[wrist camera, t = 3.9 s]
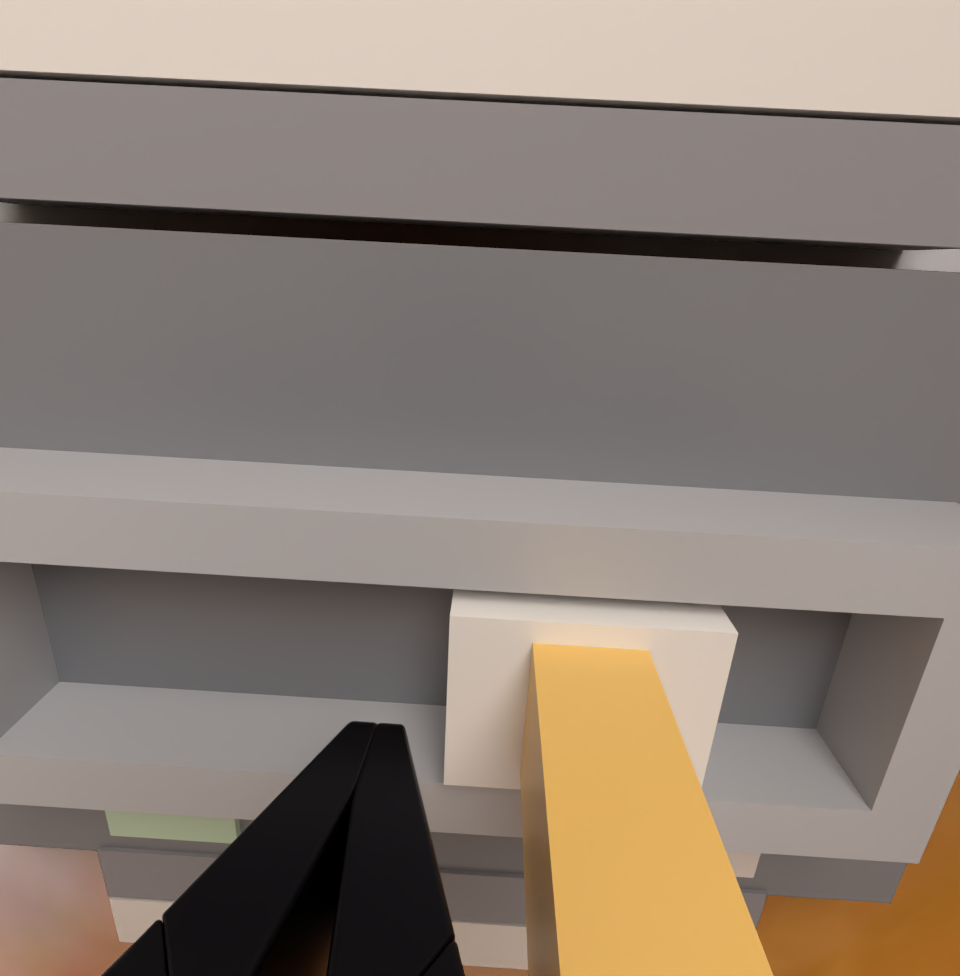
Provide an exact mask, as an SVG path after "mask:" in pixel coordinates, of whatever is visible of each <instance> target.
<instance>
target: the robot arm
mask: <svg viewBox="0 0 960 976" xmlns="http://www.w3.org/2000/svg"><path fill="white" fill-rule="evenodd" d="M101 976H465V974H464V970H463V966H462V962H461V957H460V953H459V949H458V945H457V943H456V942H455V934H454V929H453V925H452V921H451V917H450V913H449V908H448V904H447V900H446V896H445V892H444V888H443V883H442V879H441V875H440V871H439V867H438V862H437V858H436V854H435V850H434V846H433V842H432V837H431V833H430V829H429V825H428V821H427V816H426V812H425V808H424V804H423V800H422V796H421V791H420V787H419V783H418V779H417V775H416V770H415V766H414V762H413V758H412V754H411V750H410V745H409V741H408V737H407V733H406V729H405V727H404V726H403V725H402V724H391V723H379V724H376V723H374V722H362V721H352V722H350V723H348V724H347V725H346V726H345V727H344V728H343V729H342V730H341V731H340V732H339V733H338V734H337V735H336V736H335V737H334V738H333V739H332V740H331V741H330V742H329V743H328V744H327V746H326V747H325V748H324V749H323V750H322V751H321V752H320V753H319V754H318V755H317V756H316V757H315V758H314V759H313V760H312V761H311V762H310V763H309V764H308V765H307V766H306V767H305V768H304V769H303V770H302V771H301V772H300V773H299V774H298V775H297V776H296V777H295V778H294V779H293V780H292V782H291V783H290V784H289V785H288V786H287V787H286V788H285V789H284V790H283V791H282V792H281V793H280V794H279V795H278V796H277V797H276V798H275V799H274V800H273V801H272V802H271V803H270V804H269V805H268V806H267V807H266V808H265V809H264V810H263V811H262V812H261V813H260V814H259V815H258V816H257V818H256V819H255V820H254V821H253V822H252V823H251V824H250V825H249V826H248V827H247V828H246V829H245V830H244V831H243V832H242V833H241V834H240V835H239V836H238V837H237V838H236V839H235V840H234V841H233V842H232V843H231V844H230V845H229V846H228V847H227V848H226V849H225V850H224V851H223V852H222V853H221V855H220V856H219V857H218V858H217V859H216V860H215V861H214V862H213V863H212V864H211V865H210V866H209V867H208V868H207V869H206V870H205V871H204V872H203V873H202V874H201V875H200V876H199V877H198V878H197V879H196V880H195V881H194V882H193V883H192V884H191V885H190V886H189V887H188V888H187V889H186V891H185V892H184V893H183V894H182V895H181V896H180V897H179V898H178V899H177V900H176V901H175V902H174V903H173V904H172V905H171V906H170V907H169V908H168V909H167V910H166V911H165V912H164V913H163V915H162V921H161V920H156V921H155V922H154V923H153V924H152V925H151V926H150V927H149V928H148V929H147V930H146V931H145V932H144V933H143V934H142V935H141V936H140V937H139V938H138V940H137V941H136V942H135V943H134V944H133V945H132V946H131V947H130V948H129V949H128V950H127V951H126V952H125V953H124V954H123V955H122V956H121V957H120V958H119V959H118V960H117V961H116V962H115V963H114V964H113V965H111V966H110V967H109V968H108V969H107V970H106V971H105V972H104V973H103V974H102V975H101Z"/></svg>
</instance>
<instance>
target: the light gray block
mask: <svg viewBox="0 0 960 976" xmlns="http://www.w3.org/2000/svg"><path fill="white" fill-rule="evenodd" d="M97 852H98V856H99V860H100V864H101V868H102V872H103V877H104V881H105V885H106V889H107V893H108V896H109V897H110V899H109V901H110V905H111V909H112V913H113V917H114V921H115V925H116V929H117V934H118V938H119V942H129V943H135V942H136V941H137V940H138V938H139V937H140V936H141V935H142V934H143V933H144V932H145V931H146V930H147V929H148V928H149V927H150V926H151V925H152V924H153V923H154V922H155V921H156V920H161V921H162V915H163V913H164V912H165V911H166V910H167V909H168V908H169V907H170V906H171V905H172V904H173V903H174V902H175V901H176V900H177V899H178V898H179V897H180V896H181V895H182V894H183V893H184V892H185V891H186V889H187V888H188V887H189V886H190V885H191V884H192V883H193V882H194V881H195V880H196V879H197V878H198V877H199V876H200V875H201V874H202V873H203V872H204V871H205V870H206V869H207V868H208V867H209V866H210V865H211V864H212V863H213V862H214V861H215V860H216V859H217V858H218V857H219V856H220V855H221V854H206V853H191V852H176V851H161V850H146V849H131V848H116V847H101V846H100V847H99V848H98V850H97ZM439 871H440V875H441V879H442V883H443V888H444V892H445V896H446V900H447V904H448V908H449V913H450V917H451V921H452V925H453V929H454V934H455V942H456V943H457V945H458V949H459V953H460V957H461V962H462V965H466V966H481V967H495V968H510V969H525V970H528V960H527V934H526V908H525V882H524V874H509V873H494V872H479V871H464V870H448V869H439ZM740 890H741V892H742V895H743V897H744V900H745V903H746V905H747V908H748V911H749V913H750V916H751V918H752V921H753V924H754V926H755V929H756V928H757V925H758V922H759V919H760V916H761V913H762V909H763V906H764V903H765V900H766V897H767V893H766V891H765V890H751V889H740Z"/></svg>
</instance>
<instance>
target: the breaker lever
mask: <svg viewBox="0 0 960 976" xmlns="http://www.w3.org/2000/svg"><path fill="white" fill-rule="evenodd" d="M737 637H738V632H737V630H736V629H735V627H734V626H733V624H732V623H731V621H730V620H729V618H728V616H727V615H726V613H725V612H724V610H723V609H722V607H721V606H720V605H713V604H696V603H680V602H663V601H646V600H630V599H613V598H596V597H580V596H563V595H546V594H530V593H513V592H497V591H480V590H463V589H454V590H453V597H452V604H451V611H450V623H449V650H448V677H447V704H446V731H445V758H444V785H457V786H473V787H489V788H504V789H520V790H521V804H522V830H523V856H524V882H525V908H526V934H527V960H528V976H773V973H772V971H771V968H770V965H769V963H768V960H767V958H766V955H765V952H764V950H763V947H762V944H761V942H760V939H759V937H758V934H757V931H756V929H755V926H754V924H753V921H752V918H751V916H750V913H749V911H748V908H747V905H746V903H745V900H744V897H743V895H742V892H741V890H740V887H739V884H738V882H737V879H736V877H735V874H734V871H733V869H732V866H731V864H730V861H729V858H728V856H727V853H726V850H725V848H724V845H723V843H722V840H721V837H720V835H719V832H718V830H717V827H716V824H715V822H714V819H713V817H712V814H711V811H710V809H709V806H708V803H707V801H706V798H705V796H704V793H703V790H702V784H703V780H704V776H705V771H706V767H707V763H708V759H709V755H710V751H711V746H712V742H713V738H714V734H715V730H716V725H717V721H718V717H719V713H720V709H721V704H722V700H723V696H724V692H725V688H726V683H727V679H728V675H729V671H730V667H731V662H732V658H733V654H734V650H735V646H736V642H737Z"/></svg>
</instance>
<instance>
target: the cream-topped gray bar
mask: <svg viewBox="0 0 960 976" xmlns="http://www.w3.org/2000/svg"><path fill="white" fill-rule="evenodd" d="M0 202H4V203H12V204H28V205H48V206H67V207H86V208H105V209H124V210H143V211H162V212H181V213H200V214H220V215H239V216H258V217H277V218H296V219H315V220H334V221H353V222H373V223H392V224H411V225H430V226H449V227H468V228H487V229H506V230H525V231H545V232H564V233H583V234H602V235H621V236H640V237H659V238H678V239H697V240H717V241H736V242H755V243H774V244H793V245H812V246H831V247H850V248H869V249H889V250H932V249H960V0H0Z"/></svg>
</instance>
